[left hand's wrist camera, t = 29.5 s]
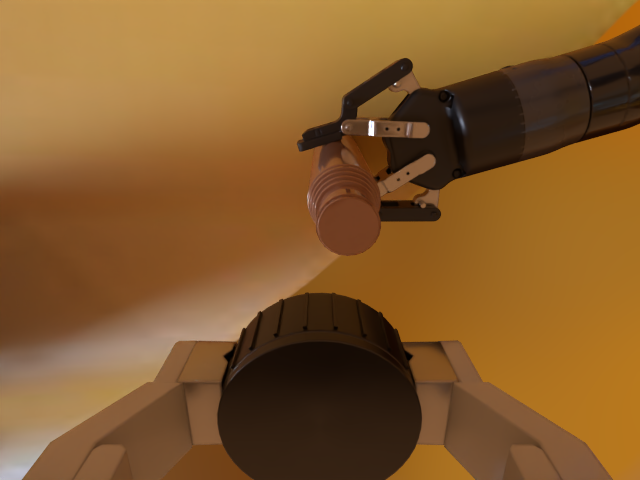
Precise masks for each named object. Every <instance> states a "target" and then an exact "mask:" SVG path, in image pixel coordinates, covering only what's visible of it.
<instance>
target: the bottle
mask: <svg viewBox="0 0 640 480" xmlns="http://www.w3.org/2000/svg"><path fill="white" fill-rule="evenodd" d="M307 204H308V209H309V212H310V215H311V217H312V219H313V221H314V222H315V224H316V231H317V234H318V237H319V239H320V241H321V242H322V243H323V245H324V246H325V247H326V248H328V249H329V250H330V251H332V252H334V253H337V254H339V255H346V256H349V255H357V254H359V253H363V252H364V251H366V250H367V249H369V248H370V247H371V246H372V245H373V244H374V243H375V242H376V240H377V238H378V236H379V233H380V229H381V220H380V217H379V214H378V213H379V210H380V205H381V195H380V190H379V187H378V184H377V182H376V180H375V178H374V176H373V175H372V173H371V171H370V169H369V167H368V165H367V163H366V161H365V159H364V157H363V155H362V153H361V152H360V150H359V148H358V146H357V144H356V142H355V140H354V139H353V138H352V137H351V136H350V135H345V136H342V140H339V141H335V142H331V143H328V144H325V145H322V146H318V147H315V149H314V155H313V162H312V169H311V175H310V182H309V189H308V197H307Z"/></svg>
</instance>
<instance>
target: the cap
mask: <svg viewBox="0 0 640 480" xmlns="http://www.w3.org/2000/svg"><path fill="white" fill-rule="evenodd" d="M408 362H409V361H408V360H407V359H406V355H405V352H404V349H403V346H402V343H401V340H400V337H399V334H398V330H397V329H393V327H392V326H391V324H390V323H389V322H388V321H387V320H386V319H385V318H384V317H383V314H382V313H381V312H379V313H378V312H377V311H376V310H374V309H373V308H371V307H370V306H368V305H366V304H364V303H362V302H361V300H359V299H358V300H355V299H352V298H349V297H346V296H342V295H337V294H335V293H332V294H329V293H305V294H302V295H297V296H293V297H290V298H287V299H284V300H283V299H281V300H279V302H277V303H275V304H273V305H272V306H270V307H268V308H266V309H265V310H264V311H262V312H261V311H260V312H258V314H257V316H256V317H255V318H254V319H253V320H252V321H251V322H250V324H249V325H248V326H247V328H246V329H245V328H243V329H242V332H241V335H240V338H239V342H238V345H237V348H235V351H234V355H233V357H231V358H230V361H229V364H228V366H229V370H228V373H227V376H226V379H225V382H224V385H223V392H222V395H221V398H220V402H219V407H218V412H217V424H218V430H219V435H220V438H221V441H222V444H223V446H224V448H225V450H226V452H227V454H228V455H229V456H230V458H231V459H232V461H233V462H234V463H235V464H236V465H237V466H238V467H239V468H240V469H241V470H242V471H243V472H244V473H245V474H247V475H248V476H249V477H251V478H252V479H254V480H386V479H387V478H388V477H390V476H391V475H393V474H394V473H395V472H396V471H397V470H398V469H399V468H401V467H402V466H403V464H404V463H405V462H406V461H407V459H408V458H409V457H410V455H411V454H412V452H413V450H414V449H415V447H416V444H417V442H418V439H419V436H420V432H421V427H422V411H421V405H420V401H419V398H418V394H417V391H416V388H415V385H414V382H413V379H412V376H411V372H410V368H409V365H408Z"/></svg>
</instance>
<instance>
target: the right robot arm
mask: <svg viewBox="0 0 640 480" xmlns="http://www.w3.org/2000/svg"><path fill="white" fill-rule="evenodd" d="M412 68H413V64H412V62H411V60H409V59H408V58H403V59H400V60H397V61H395V62H394V63H392V64H391V65H389V66H388V67H386V68H385V69H383V70H382V71H380V72H379V73H377V74H375V75H374V76H372V77H371V78H369V79H368V80H366V81H365V82H363V83H362V84H360V85H359V86H357V87H356V88H354V89H353V90H351V91H350V92H348V93H347V94H345V95H344V96H343V98H342V109H341V115H340V117H339V119H338V120H336V121H334V122H330V123H327V124H324V125H320V126H317V127H314V128H310V129H308V130H306V131H305V132H304V133H303V134H302V137H303V139H302V140H299V141H298V142H297V145H298V148H299V151H305V150H308V149H312V148H315V147H318V146H322V145H325V144H328V143H331V142H335V141H339V140H342V136H345V135H363V136H374V137H382V140H383V143H384V145H385V147H386V148H387V162H388V166H387V167H386V168H384V169H382V170H381V171H380V172H378V174H377V175H376V176H374V178H375V180H376V182H377V184H378V187H379V190H380V195H381V196H383V195H384V194H386V193H390V192H392V191H394V190H396V189H397V188H399V187H401V186H402V185H404V184H405V183H407V182H410V183H413V184H416V185H419V186H421V187H424V188H426V190H425V192H423V193H422V194H417V195H415V196H414V198H413V200H382V201H381V205H380V210H379V213H378V214H379V217H380V220H381V221H436V220H438V219H439V218H440V216H441V212H440V210H439V209H438V200H439V191H440V189H442V188H443V187H445V186H446V185H447V184H448V183H449V182H451V181H453V180H455V179H458V178H462V177H466V176H470V175H473V174H477V173H480V172H484V171H488V170H491V169H495V168H498V167H502V166H506V165H509V164H513V163H517V162H520V161H524V160H527V159H531V158H535V157H538V156H542V155H545V154H548V153H551V152H553V151H556V150H558V149H560V148H563V147H565V146H568V145H571V144H574V143H577V142H581V141H584V140H588V139H591V138H595V137H599V136H602V135H606V134H609V133H613V132H617V131H620V130H624V129H627V128H630V127H633V126H635V125H637V124H640V25H639V26H637V27H635V28H633V29H631V30H629V31H627V32H625V33H623V34H621V35H619V36H617V37H615V38H613V39H610V40H608V41H605V42H602V43H599V44H596V45H592V46H589V47H585V48H582V49H579V50H575V51H572V52H569V53H565V54H562V55H559V56H555V57H551V58H545V59H538V60H533V61H529V62H525V63H521V64H518V65H515V66H506V67H504V68H501V69H500V70H498V71H495V72H491V73H488V74H485V75H482V76H478V77H475V78H472V79H468V80H465V81H462V82H459V83H455V84H452V85H449V86H445V87H442V88H439V89H433V90H431V89H427V88H420V86H419V84H418V82H417V80H416V78H415V76H414V74H413V72H412ZM386 88H388V89H389V90H390V91H392V92H399V91H401V90H404V91H406V92H407V93H408V95H407V96H406V97H405V98H404V99H403V101H402V102H401V103H400V104H399V106H398V107H397V108H396V109H395V111H394V112H393V113H392V114H391V116H390V117H389V118H379V117H368V118H362V117H357V108H358V107H359V106H360V105H362V104H363V103H365V102H366V101H368V100H369V99H371V98H373V97H374V96H376V95H377V94H379V93H380V92H382V91H383V90H385V89H386ZM397 178H399V179H398V180H397Z"/></svg>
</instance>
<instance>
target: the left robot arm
mask: <svg viewBox="0 0 640 480" xmlns="http://www.w3.org/2000/svg"><path fill="white" fill-rule="evenodd" d="M401 343H402V346H403V349H404V352H405V355H406V359H407V360H408V361H409V362H408V365H409V368H410V372H411V376H412V379H413V382H414V385H415V388H416V391H417V394H418V398H419V401H420V405H421V411H422V427H421V432H420V436H419V439H418V442H417V444H427V445H444V447H445V448H446V449H447V450H448V451H449V452H450V453H451V454H452V455H453V456H454V457H455V459H456V460H457V461H458V462H459V463H460V464H461V465H462V466H463V467H464V468H465V469H466V470H467V471H468V472H469V473H470V474H471V475H472V476H473V477H474V478H475V480H613V479H612V478H611V476H610V475H609V474H608V472H607V471H606V470H605V468H604V467H603V466H602V464H601V463H600V462H599V460H598V459H597V457H596V456H595V455H594V453H593V452H592V451H591V449H590V448H589V447H588V445H587V444H586V443H585V442H583V441H582V440H580V439H578V438H577V437H575V436H574V435H572V434H570V433H569V432H567V431H566V430H564V429H562V428H561V427H559V426H558V425H556V424H554V423H553V422H551V421H550V420H548V419H547V418H545V417H543V416H542V415H540V414H539V413H537V412H535V411H534V410H532V409H531V408H529V407H527V406H526V405H524V404H523V403H521V402H519V401H518V400H516V399H515V398H513V397H511V396H510V395H508V394H507V393H505V392H503V391H502V390H500V389H499V388H497V387H496V386H494V385H492V384H491V383H489V382H483V381H482V380H481V378H480V376H479V374H478V372H477V371H476V369H475V367H474V365H473V364H472V362H471V360H470V358H469V357H468V355H467V353H466V351H465V349H464V348H463V346H462V344H461V343H460V342H459V341H438V342H401ZM237 345H238V344H237V342H227V341H178V342H176V343H175V345H174V347H173V348H172V350H171V352H170V354H169V355H168V357H167V359H166V361H165V362H164V364H163V366H162V368H161V369H160V371H159V373H158V375H157V377H156V378H155V380H154V382H147V383H145V384H144V385H142V386H141V387H139V388H137V389H136V390H134V391H133V392H131V393H129V394H128V395H126V396H125V397H123V398H121V399H120V400H118V401H116V402H115V403H113V404H112V405H110V406H108V407H107V408H105V409H104V410H102V411H100V412H99V413H97V414H95V415H94V416H92V417H91V418H89V419H87V420H86V421H84V422H83V423H81V424H79V425H78V426H76V427H75V428H73V429H71V430H70V431H68V432H66V433H65V434H63V435H62V436H60V437H58V438H57V439H55V440H54V441H52V442H50V444H49V445H48V446H47V447H46V449H45V450H44V451H43V453H42V454H41V455H40V457H39V458H38V459H37V461H36V462H35V463H34V465H33V466H32V467H31V468H30V470H29V471H28V472H27V474H26V475H25V476H24V478H23V479H22V480H161V479H162V478H163V477H164V476H165V475H166V474H167V473H168V472H169V471H170V470H171V468H172V467H173V466H174V465H175V464H176V463H177V462H178V461H179V460H180V459H181V458H182V457H183V456H184V455H185V454H186V453H187V452H188V451H189V450H190V449H191V448H192V445H208V444H222V441H221V438H220V435H219V430H218V424H217V412H218V407H219V402H220V398H221V395H222V392H223V385H224V382H225V379H226V376H227V373H228V370H229V366H228V364H229V361H230V358H231V357H233V355H234V351H235V348H237Z"/></svg>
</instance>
